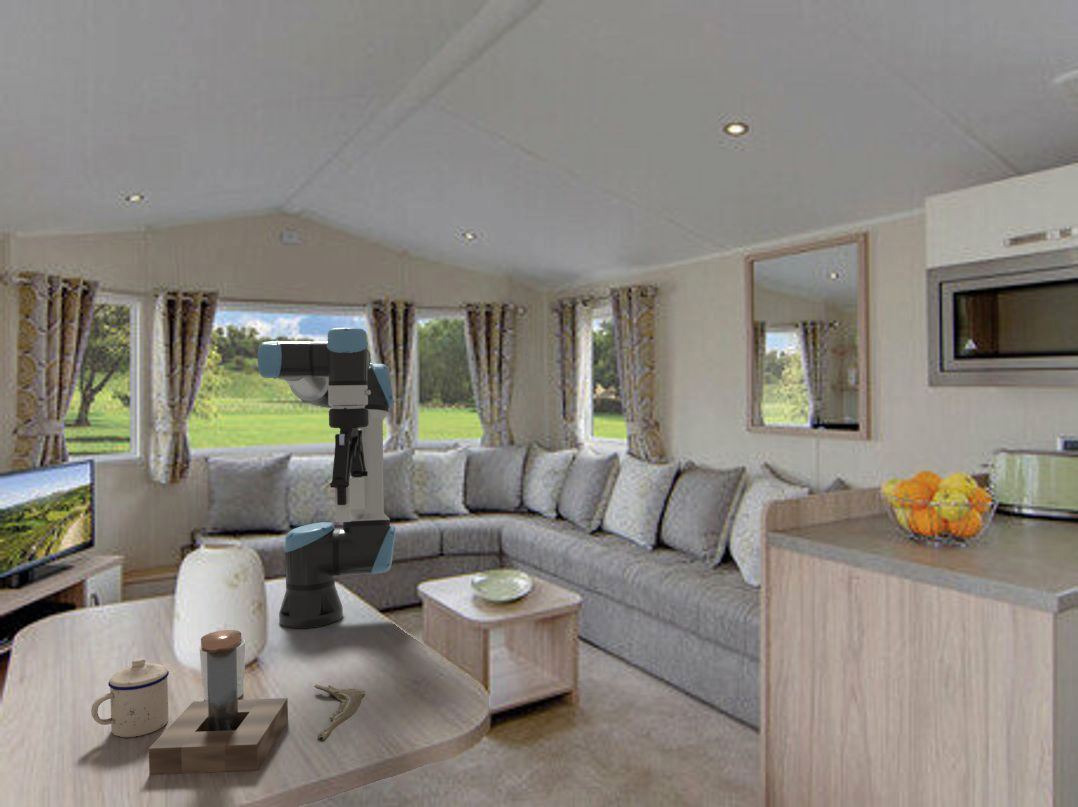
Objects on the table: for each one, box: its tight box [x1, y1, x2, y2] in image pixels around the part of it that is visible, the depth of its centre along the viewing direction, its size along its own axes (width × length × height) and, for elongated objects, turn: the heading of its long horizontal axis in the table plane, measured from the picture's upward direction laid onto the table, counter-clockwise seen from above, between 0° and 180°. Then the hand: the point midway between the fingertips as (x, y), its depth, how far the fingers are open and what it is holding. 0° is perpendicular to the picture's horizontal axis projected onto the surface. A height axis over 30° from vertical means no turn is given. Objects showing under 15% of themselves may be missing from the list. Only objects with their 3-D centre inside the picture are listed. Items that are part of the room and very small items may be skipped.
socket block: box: [148, 697, 289, 775], centre depth 117 cm, size 16×16×4 cm
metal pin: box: [200, 629, 242, 731], centre depth 117 cm, size 6×6×18 cm
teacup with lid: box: [90, 657, 170, 738], centre depth 123 cm, size 12×9×12 cm
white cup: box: [199, 637, 246, 701], centre depth 136 cm, size 8×8×10 cm
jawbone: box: [313, 683, 366, 741], centre depth 129 cm, size 9×20×2 cm, turn 19°
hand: (350, 515), depth 142 cm, fingers open, 13 cm apart
